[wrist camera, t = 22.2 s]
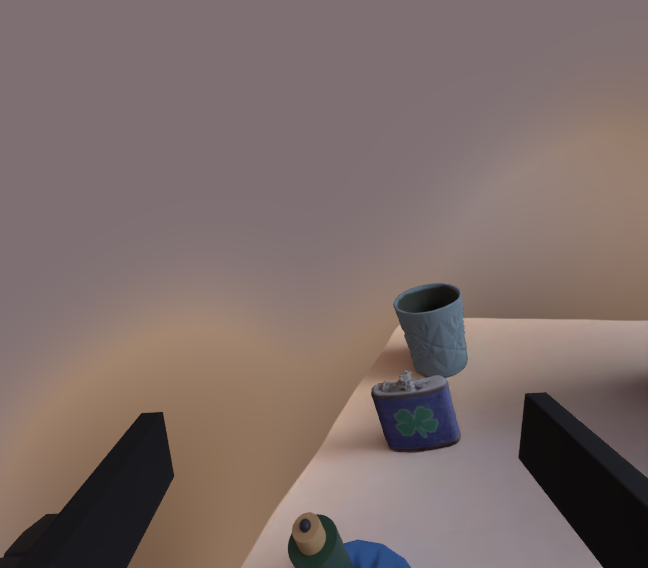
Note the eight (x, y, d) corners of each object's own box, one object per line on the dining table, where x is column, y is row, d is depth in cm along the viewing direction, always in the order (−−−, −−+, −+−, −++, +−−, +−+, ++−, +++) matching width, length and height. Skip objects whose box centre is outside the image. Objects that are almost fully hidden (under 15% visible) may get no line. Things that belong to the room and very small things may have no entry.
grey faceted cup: (399, 373, 58) (381, 311, 54) (426, 339, 64) (411, 281, 60) (460, 386, 51) (444, 316, 47) (483, 347, 57) (470, 282, 53)
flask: (459, 428, 44) (442, 360, 41) (463, 447, 42) (446, 376, 38) (387, 436, 47) (366, 372, 43) (387, 455, 44) (364, 388, 41)
